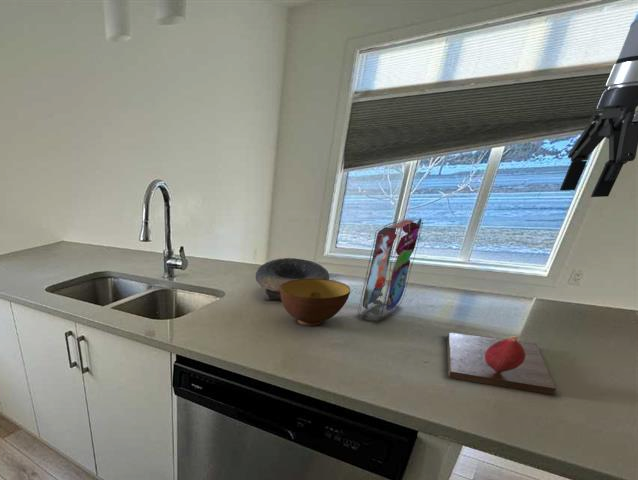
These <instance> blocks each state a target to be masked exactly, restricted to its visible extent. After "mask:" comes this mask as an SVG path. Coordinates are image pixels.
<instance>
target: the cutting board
mask: <svg viewBox="0 0 638 480" xmlns="http://www.w3.org/2000/svg"><path fill="white" fill-rule="evenodd" d="M504 339H505V338H504ZM504 339H503V338H495V337H489V336H479V335H471V334H465V333H464V334H462V333H456V332H448V334H447V337H446V348H447V349H446V350H447V373H448V374H447V375H448V379H453V380H454V379H455V380H460V381H467V382H473V383H477V384H483V385H484V384H485V385H489V386H490V385H491V386H495V387H501V388H506V389H507V388H508V389H513V390H518V391H519V390H520V391H526V392H533V393H539V394H543V395H550V396H553V395H554V393H555V391H556V390H557V388H556V385H555V383H554V381H553V379H552V376H551V375H550V372H549V369H548V367H547V365H546V363H545V360H544V359H543V356H542V354H541V351H540V348H539V347H538V344H537V343H536V342H528V341H521V340H517V342H518V343H519V344H520V345H521V346H522V347H523V348H524V351H525V360H524V361H523V363H522V364H521V365H520V366H518V367H517V368H515V369H512V370H508V371H504V372H502V373H498V372H496V371H495V370H494V369H492V368H491V367H490V366H489V365H488V364H487V363H486V361H485V353H486V351H487V349H488V348H489V347H490V346H491V345H493V344H494V343H496V342H498V341H501V340H504Z"/></svg>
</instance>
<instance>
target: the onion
mask: <svg viewBox="0 0 638 480" xmlns="http://www.w3.org/2000/svg"><path fill="white" fill-rule="evenodd" d="M517 341H518V336H515V335H512V336H510V337H508V338H504V340H501V341H498V342H496V343H494V344H493V345H491V346H490V347H489V348H488V349H487V351H486V353H485V361H486V363H487V364H488V365H489V366H490V367H491V368H492V369H494V370H495V371H496V372H498V373H502V372H504V371H508V370H512V369H515V368H517V367H518V366H520V365H521V364H522V363H523V361H524V360H525V351H524V348H523V347H522V346H521V345H520V344H519V343H518V342H517Z"/></svg>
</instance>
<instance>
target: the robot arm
mask: <svg viewBox="0 0 638 480" xmlns="http://www.w3.org/2000/svg"><path fill="white" fill-rule="evenodd" d="M633 18H634V19H633V20H632V22H631V23H630V25H629V29H628V32H627V35H626V37H625V39H624V42H623V45H622V47H621V50H620V52H619V55H618V57H617V59H616V61H615V64H614V65H613V67H612V69H611V72H610V74H609V77H608V79H607V81H606V84H605V86H606V87H608V88H607V89H605V90H604V91H602V94H601V96H600V99H599V101H598V104H597V105H596V109H597V110H603V112H602V113H593V114H592V116H591V117H590V120H589V122H588V124H587V125H586V127H585V129H584V130H583V132H582V133H581V135H580V136H579V138H578V139H577V141H576V143H575V144H574V145H573V147H572V149H571V150H570V151H569V153H568V154H567V159H570V164H569V167H568V169H567V171H566V173H565V176H564V179H563V181H562V184H561V186H560V188H559V191H575V190H576V189H577V186H578V183H579V181H580V179H581V177H582V174H583V172H584V170H585V167H586V165H587V163H588V161H589V160H590V155H591V154H592V153H593V152H594V150H595V149H596V148H597V147H598V146H599V145H600V143H601V142H602V141H603V140H604V139H608V160H607V161H606V162H605V163H604V166H603V169H602V170H601V172H600V175H599V177H598V179H597V181H596V184H595V186H594V188H593V190H592V192H591V194H590V197H591V198H605V197H606V198H607V197H609V195H610V194H611V192H612V190H613V187H614V185H615V183H616V181H617V179H618V177H619V175H620V172H621V170H622V168H623V166H624V165H626V164H627V163H628V162H633V161H634V160H636V157H637V151H638V110H636V109H637V107H638V11H637V12H636V13H635V16H634V17H633Z"/></svg>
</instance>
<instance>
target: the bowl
mask: <svg viewBox="0 0 638 480" xmlns="http://www.w3.org/2000/svg"><path fill="white" fill-rule="evenodd" d="M280 294H281V299H280V300H281V303H282V306H283V307H284V309H285V311H286V312H287V313H288V315H290V316H291V317H292V318H294V319H296V320H297V323H299V324H301V325H303V326H309V327H313V326H314V327H315V326H319V325H321V324H322V322H325V321H327V320H330V319H331V318H332V317H333V318H334V316H335V315H337V314H338V313H340V310H342V309H343V307H344V306H345V305H346V303H347V301H348V299H349V296H350V294H351V287H350V286H349V285H347V284H346V283H343V282H341V281H337V280H333V279H329V280H327V279H297V280H292V281H288V282H286V283H284V284H282V285H281V289H280Z"/></svg>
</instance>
